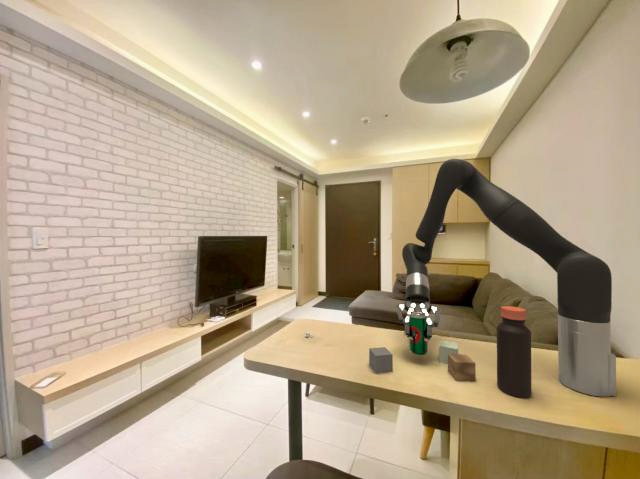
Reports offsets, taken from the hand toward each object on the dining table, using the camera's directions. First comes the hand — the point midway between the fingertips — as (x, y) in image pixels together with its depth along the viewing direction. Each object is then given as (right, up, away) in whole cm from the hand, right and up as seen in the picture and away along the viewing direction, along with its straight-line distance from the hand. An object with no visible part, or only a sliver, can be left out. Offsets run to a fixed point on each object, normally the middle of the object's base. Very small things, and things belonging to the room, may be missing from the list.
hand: (418, 337), depth 77 cm
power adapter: (-33, -9, +21) cm, 40 cm away
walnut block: (+9, -8, -7) cm, 14 cm away
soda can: (+1, -5, +2) cm, 6 cm away
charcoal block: (-12, -8, -2) cm, 15 cm away
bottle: (+18, -8, -13) cm, 24 cm away
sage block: (+10, -8, +2) cm, 13 cm away
